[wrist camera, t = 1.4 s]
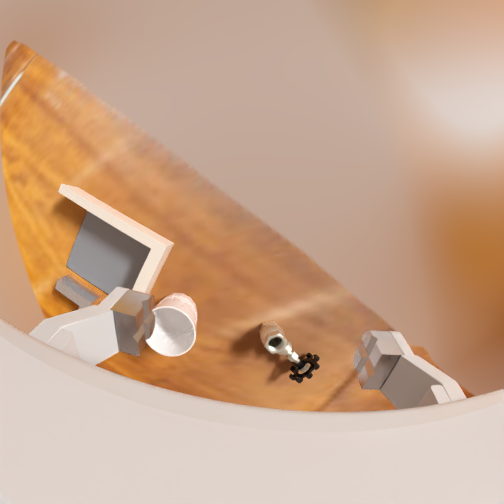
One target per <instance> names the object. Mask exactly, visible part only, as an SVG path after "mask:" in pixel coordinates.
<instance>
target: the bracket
mask: <svg viewBox="0 0 504 504" xmlns="http://www.w3.org/2000/svg"><path fill="white" fill-rule="evenodd" d="M55 289H56V290H58V291H59V292H60V293H62V294H63V295H64V296H66V297H67V298H69V299H70V300H71V301H73V302H74V303H76V304H77V305H78V306H79V309H82V308H86V307H89V306H92V305H96V306H98V305H99V304H100V302H101V299H102V296H103V295H101V294H100V293H98V292H97V291H95V290H94V289H92V288H91V287H89V286H88V285H86V284H85V283H83V282H82V281H80V280H79V279H77V278H76V277H74V276H73V275H72V274H70V275H67V276H65V277H62V278H59V279H58V280H57V284H56V287H55Z"/></svg>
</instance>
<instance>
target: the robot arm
mask: <svg viewBox="0 0 504 504" xmlns="http://www.w3.org/2000/svg"><path fill="white" fill-rule="evenodd" d="M154 306H155V298H154V296H153V295H150V294H146V293H142V292H139V291H135V290H131V289H128V288H123V287H116V288H115V289H114V290H113V291H112V292H111V293H110V294H109V295H108V296H107V297H106V298H105V299H104V300H103V301H102V302H101V303H100V304H99V305H98V306H96V305H92V306H89V307H86V308H82V309H79V310H75V311H72V312H68V313H65V314H62V315H58V316H55V317H51V318H48V319H44V320H43V321H42V322H41V323H40V324H39V325H38V326H37V327H36V328H35V329H33V331H32V332H31V333H29V334H26V333H25V332H23V331H21V330H19V329H17V328H16V327H14V326H12V325H11V324H9V323H7V322H5V321H4V320H2V319H1V318H0V504H504V388H503V389H500V390H497V391H493V392H490V393H487V394H483V395H479V396H475V397H471V398H466V397H465V395H464V393H463V392H462V390H461V388H460V387H459V385H458V383H457V382H456V381H455V380H453V379H452V378H450V377H449V376H447V375H446V374H444V373H443V372H441V371H440V370H438V369H437V368H435V367H434V366H432V365H431V364H429V363H428V362H426V361H425V360H423V359H422V358H420V357H419V356H417V355H414V354H413V352H412V351H411V349H410V347H409V346H408V344H407V342H406V341H405V339H404V338H403V336H402V334H401V333H400V332H398V331H373V330H366V331H365V332H364V334H363V336H362V338H361V339H362V342H363V343H362V344H361V345H360V346H358V347H357V349H356V351H355V354H354V360H353V361H354V367H355V370H356V371H358V372H359V373H360V374H359V376H358V379H359V382H360V385H361V389H375V390H380V391H381V392H382V393H383V394H384V395H385V396H386V397H387V398H388V400H389V401H390V402H391V403H392V404H393V405H394V406H395V407H396V408H397V409H396V410H384V411H366V412H314V411H296V410H283V409H273V408H264V407H256V406H248V405H241V404H235V403H229V402H223V401H217V400H212V399H207V398H202V397H197V396H193V395H188V394H184V393H180V392H176V391H172V390H168V389H164V388H160V387H157V386H153V385H150V384H146V383H143V382H140V381H137V380H133V379H130V378H127V377H124V376H121V375H119V374H116V373H113V372H110V371H108V370H105V369H102V368H100V367H97V366H95V365H96V364H98V363H100V362H102V361H104V360H105V359H107V358H109V357H111V356H112V355H114V354H116V353H118V352H119V351H121V352H125V353H128V354H132V355H136V356H140V354H141V353H142V351H143V349H144V348H145V346H146V342H145V340H147V339H149V338H150V337H151V335H152V334H153V331H154V327H155V314H154V313H153V311H152V309H153V308H154Z"/></svg>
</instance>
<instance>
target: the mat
mask: <svg viewBox="0 0 504 504" xmlns="http://www.w3.org/2000/svg"><path fill="white" fill-rule="evenodd" d="M150 250H151V248H149V247H147V246H146V245H144V244H142V243H140V242H139V241H137V240H135V239H134V238H132V237H130V236H128V235H127V234H125V233H123V232H122V231H120V230H118V229H117V228H115V227H113V226H112V225H110V224H108V223H107V222H105V221H104V220H102V219H100V218H99V217H97V216H95V215H94V214H92V213H91V212H89V211H87V214H86V216H85V218H84V220H83V223H82V225H81V228H80V230H79V233H78V235H77V238H76V240H75V243H74V245H73V248H72V251H71V254H70V256H69V259H68V262H67V265H66V266H67V267H68V268H70V269H71V270H73V271H74V272H75V273H77V274H78V275H80V276H81V277H83V278H84V279H86V280H87V281H89V282H90V283H92V284H93V285H95V286H96V287H98V288H99V289H101V290H102V291H104V292H105V293H107V294H110V293H111V292H112V291H113V290H114V289H115V288H116V287H123V288H128V289H131V290H132V289H133V287H134V285H135V282H136V280H137V278H138V276H139V274H140V271H141V269H142V267H143V265H144V263H145V261H146V259H147V257H148V254H149V252H150Z"/></svg>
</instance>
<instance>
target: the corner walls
mask: <svg viewBox="0 0 504 504" xmlns="http://www.w3.org/2000/svg"><path fill="white" fill-rule="evenodd" d="M58 192H59V193H61V194H62V195H64V196H65V197H67V198H69V199H70V200H72V201H73V202H75V203H76V204H78V205H79V206H81V207H83V208H84V209H86V210H87V211H89V212H91V213H92V214H94V215H95V216H97V217H99V218H100V219H102V220H104V221H105V222H107V223H108V224H110V225H112V226H113V227H115V228H117V229H118V230H120V231H122V232H123V233H125V234H127V235H128V236H130V237H132V238H134V239H135V240H137V241H139V242H140V243H142V244H144V245H146V246H147V247H149V248H151V250H150V252H149V254H148V257H147V259H146V261H145V263H144V265H143V267H142V269H141V271H140V274H139V276H138V278H137V280H136V282H135V285H134V287H133V289H132V290H135V291H139V292H142V293H146V294H149V293H150V291H151V289H152V287H153V285H154V283H155V281H156V279H157V276H158V274H159V272H160V270H161V268H162V266H163V264H164V262H165V260H166V258H167V256H168V254H169V252H170V250H171V248H172V246H173V244H174V243H173V242H171V241H169V240H167V239H166V238H164V237H162V236H160V235H159V234H157V233H155V232H153V231H151V230H150V229H148V228H146V227H144V226H143V225H141V224H139V223H137V222H136V221H134V220H132V219H131V218H129V217H127V216H125V215H124V214H122V213H120V212H119V211H117V210H115V209H113V208H112V207H110V206H108V205H107V204H105V203H103V202H102V201H100V200H98V199H97V198H95V197H93V196H92V195H90V194H88V193H87V192H85V191H83V190H82V189H80V188H78V187H75V186H70V185H66V184H61V186H60V189H59V191H58Z"/></svg>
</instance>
